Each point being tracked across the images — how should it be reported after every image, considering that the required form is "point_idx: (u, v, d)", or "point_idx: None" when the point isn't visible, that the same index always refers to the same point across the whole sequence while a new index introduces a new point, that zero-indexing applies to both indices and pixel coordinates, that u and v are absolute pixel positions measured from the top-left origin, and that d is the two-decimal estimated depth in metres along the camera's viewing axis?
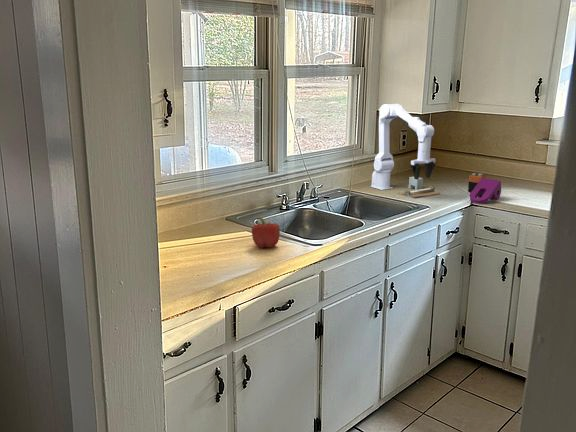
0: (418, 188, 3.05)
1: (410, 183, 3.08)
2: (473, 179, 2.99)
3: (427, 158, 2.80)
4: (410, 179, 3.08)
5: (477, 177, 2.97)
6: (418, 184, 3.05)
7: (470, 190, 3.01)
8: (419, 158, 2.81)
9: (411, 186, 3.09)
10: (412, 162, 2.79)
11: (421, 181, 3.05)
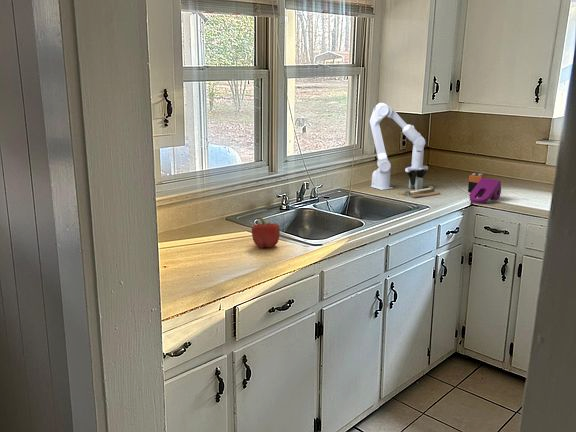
0: (418, 188, 3.05)
1: (410, 183, 3.08)
2: (473, 179, 2.99)
3: (420, 166, 3.03)
4: None
5: (477, 177, 2.97)
6: (418, 184, 3.05)
7: (470, 190, 3.01)
8: (413, 166, 3.04)
9: (411, 186, 3.09)
10: (406, 169, 3.02)
11: (421, 181, 3.05)
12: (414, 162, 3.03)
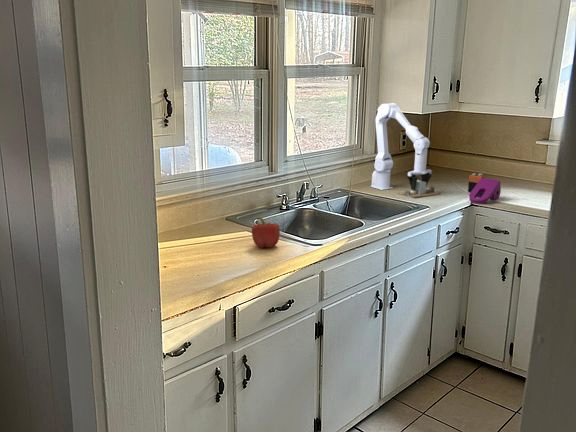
0: (421, 192, 2.93)
1: None
2: (473, 179, 2.99)
3: (423, 169, 2.90)
4: None
5: (477, 177, 2.97)
6: (421, 188, 2.92)
7: (470, 190, 3.01)
8: (416, 169, 2.91)
9: None
10: (409, 173, 2.89)
11: (424, 185, 2.93)
12: (417, 166, 2.90)
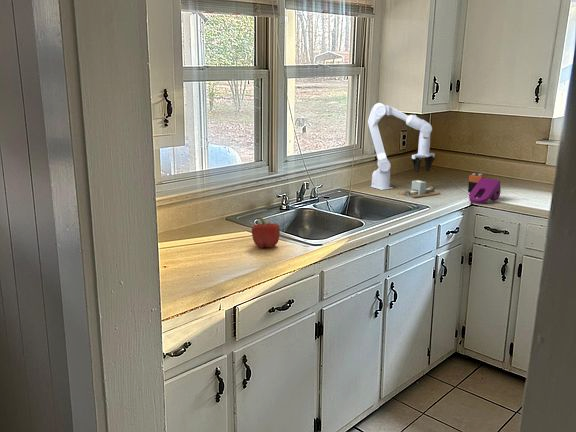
0: (421, 192, 2.93)
1: (413, 187, 2.96)
2: (473, 179, 2.99)
3: (427, 152, 3.00)
4: (413, 183, 2.95)
5: (477, 177, 2.97)
6: (421, 188, 2.92)
7: (470, 190, 3.01)
8: (419, 152, 3.01)
9: None
10: (413, 156, 2.99)
11: (424, 185, 2.93)
12: (421, 149, 3.00)
